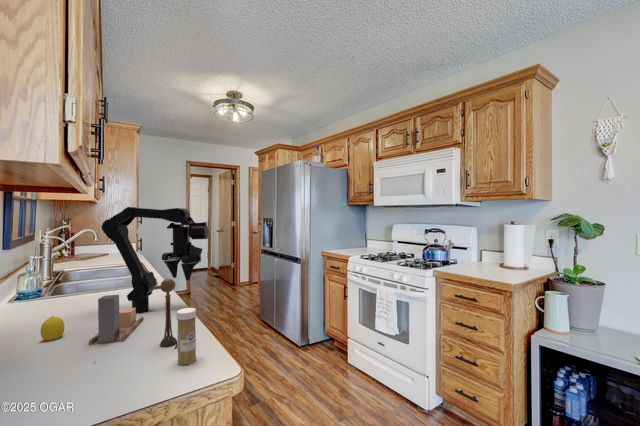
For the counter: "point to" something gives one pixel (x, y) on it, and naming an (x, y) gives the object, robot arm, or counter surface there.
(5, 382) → the counter surface
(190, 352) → the sprinkles bottle
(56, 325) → the lemon
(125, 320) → the terracotta block
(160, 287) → the wooden tabletop sculpture
